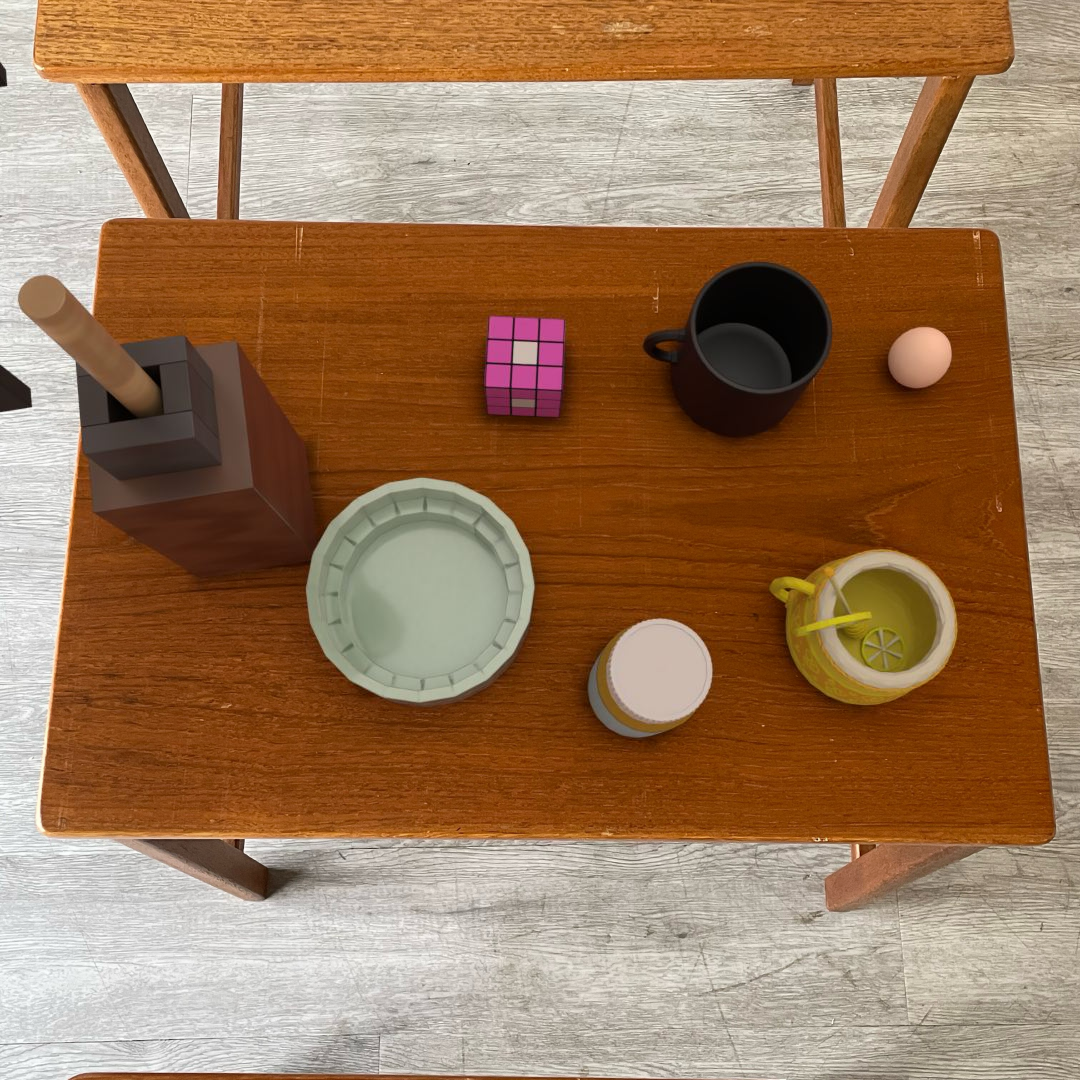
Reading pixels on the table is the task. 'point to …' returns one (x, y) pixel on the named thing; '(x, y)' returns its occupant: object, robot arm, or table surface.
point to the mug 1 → (747, 347)
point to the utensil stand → (200, 462)
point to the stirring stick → (89, 344)
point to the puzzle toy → (524, 366)
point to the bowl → (421, 592)
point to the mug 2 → (869, 625)
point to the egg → (919, 357)
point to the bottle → (650, 678)
